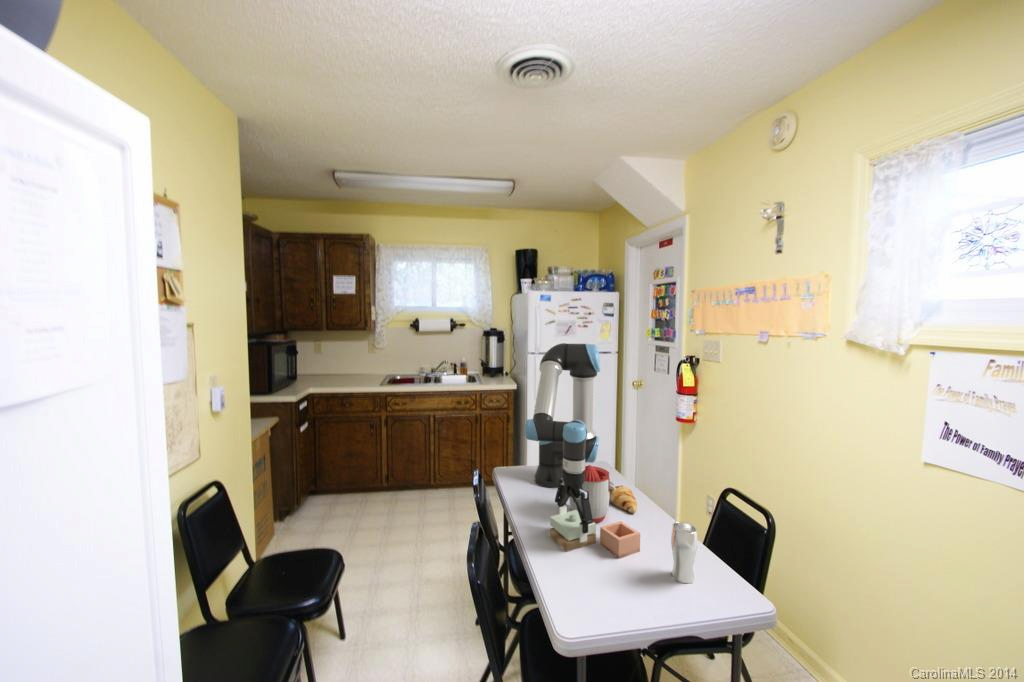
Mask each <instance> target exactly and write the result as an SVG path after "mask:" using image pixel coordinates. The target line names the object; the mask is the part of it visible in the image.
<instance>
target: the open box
mask: <svg viewBox="0 0 1024 682" xmlns="http://www.w3.org/2000/svg"><path fill="white" fill-rule="evenodd" d="M599 545H600V546H601V547H602V548H604V549H605V550H606V551H607V552H609V553H611V555H613V556H614V557H616V558H617V559H618V560H619V559H622V558H625V557H627V556H630V555H633V554H636V553H639V552H641V533H640V532H639V531H638V530H636V529H634V528H633V527H631V526H630V525H628V524H627V523H624V522H623V521H621V520H620V521H616V522H614V523H609V524H606V525H603V526H600V529H599Z"/></svg>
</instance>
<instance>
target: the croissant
mask: <svg viewBox="0 0 1024 682" xmlns="http://www.w3.org/2000/svg"><path fill="white" fill-rule="evenodd" d="M614 486H615V485H614ZM609 502H610V503H612V504H613V505H614V506H616V507H618V508H620V507H621V508H620V509H622V510H624V511H627V512H628V513H631V514H635V513H637V510H638V509H637V507H638V504H637V499H636V497H635V496H634V494H633V491H632V490H631V489H630V488H628V487H627V486H624V485H616V486H615V490H612V489H610V498H609Z"/></svg>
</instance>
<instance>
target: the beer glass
mask: <svg viewBox="0 0 1024 682" xmlns="http://www.w3.org/2000/svg"><path fill="white" fill-rule="evenodd" d="M671 528H672V529H671V535H670V536H671V538H670V539H671V540H670V541H671V542H670V543H671V545H670V546H671V551H672V557H673V558H672V559H673V563H672V564H673V566H672V570H671V576H672V578H673V579H674V580H676V581H678V582H680V583H683V584H692V583H694V581H695V575H694V563H695V559H696V555H697V549H698V530H697V527H696V526H695V525H694V524H692V523H690V522H689V523H688V522H685V521H676V522H673V524H672V527H671Z"/></svg>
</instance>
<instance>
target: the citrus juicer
mask: <svg viewBox="0 0 1024 682" xmlns="http://www.w3.org/2000/svg"><path fill="white" fill-rule="evenodd" d="M584 471H585V482H584V483H583V485H582V488H583V491H585V492H586V491H588V492H589V502H590V507H591V513H592V518H593V522H594V523H596V524H600V523H601V522H602V521H604V519H605V518H606V515H607V512H608V510H609V509H608V508H609V504H610V499H609V498H610V489H612V490H615V484H614V483H613V482H612V481H610V480H611V479H610V471H608V470H607V469H605V468H602V467H599V466H593V465H591V464H588V465H585V470H584ZM576 499H580V497H579V498H576ZM568 500H569V505H570V508H571V511H573V510H577V506H576V503H575V502H574V501H573V498H572V497H569V499H568ZM577 511H578V510H577Z"/></svg>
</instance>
